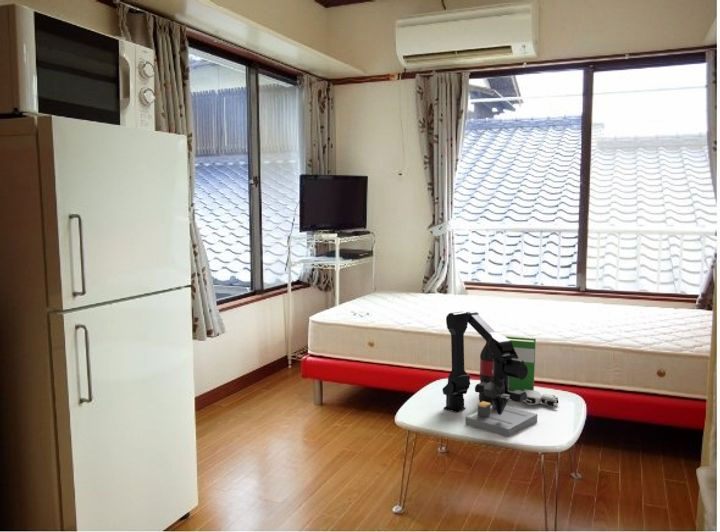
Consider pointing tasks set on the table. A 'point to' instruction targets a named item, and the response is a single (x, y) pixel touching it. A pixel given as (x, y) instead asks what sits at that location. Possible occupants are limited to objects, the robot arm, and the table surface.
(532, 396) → the robot toy
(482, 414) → the switch
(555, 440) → the table surface
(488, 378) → the cola bottle
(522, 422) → the panel
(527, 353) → the hardback book
